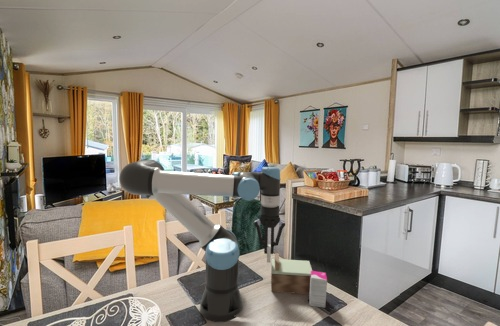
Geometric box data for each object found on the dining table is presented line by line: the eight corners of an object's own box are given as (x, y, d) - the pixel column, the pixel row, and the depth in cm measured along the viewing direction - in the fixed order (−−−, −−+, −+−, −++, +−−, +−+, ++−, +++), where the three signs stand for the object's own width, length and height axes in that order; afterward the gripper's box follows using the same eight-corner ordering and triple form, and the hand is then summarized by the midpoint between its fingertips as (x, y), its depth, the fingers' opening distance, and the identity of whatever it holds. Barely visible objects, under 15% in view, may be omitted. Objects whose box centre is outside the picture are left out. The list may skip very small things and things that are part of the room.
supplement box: (325, 310, 94) (327, 280, 92) (308, 307, 95) (310, 277, 94) (324, 300, 99) (326, 272, 98) (308, 298, 100) (310, 270, 99)
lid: (272, 273, 102) (272, 264, 102) (271, 260, 113) (272, 251, 112) (313, 276, 101) (313, 266, 100) (308, 263, 112) (309, 254, 111)
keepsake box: (271, 293, 103) (271, 274, 102) (271, 279, 114) (271, 261, 113) (312, 296, 101) (313, 277, 101) (308, 281, 112) (308, 263, 112)
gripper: (253, 206, 102) (252, 264, 104) (286, 208, 101) (284, 266, 103) (254, 202, 109) (253, 256, 111) (285, 203, 108) (283, 257, 111)
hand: (268, 260), depth 107 cm, fingers closed
